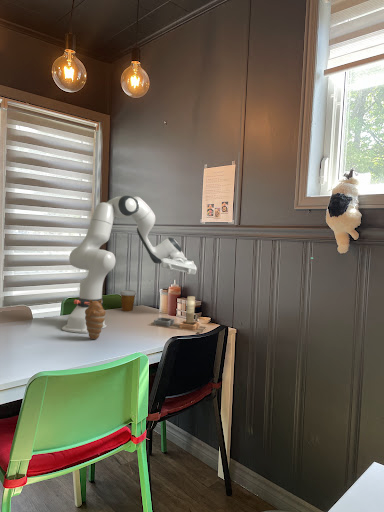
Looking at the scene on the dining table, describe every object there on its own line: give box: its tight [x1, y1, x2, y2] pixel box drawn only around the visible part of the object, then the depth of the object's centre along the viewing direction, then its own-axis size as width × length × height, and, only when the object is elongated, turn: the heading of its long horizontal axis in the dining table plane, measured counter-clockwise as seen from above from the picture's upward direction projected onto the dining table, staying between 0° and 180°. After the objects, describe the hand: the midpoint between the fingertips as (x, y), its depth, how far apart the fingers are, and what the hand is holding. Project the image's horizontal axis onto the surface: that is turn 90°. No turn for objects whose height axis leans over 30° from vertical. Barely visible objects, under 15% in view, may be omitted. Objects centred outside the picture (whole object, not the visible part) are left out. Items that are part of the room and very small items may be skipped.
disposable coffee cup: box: [119, 289, 137, 313], centre depth 234 cm, size 10×10×12 cm
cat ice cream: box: [85, 300, 107, 340], centre depth 170 cm, size 9×8×18 cm
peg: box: [185, 295, 196, 325], centre depth 196 cm, size 4×4×16 cm
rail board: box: [147, 316, 207, 335], centre depth 198 cm, size 12×28×4 cm, turn 73°
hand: (179, 271), depth 209 cm, fingers open, 8 cm apart
